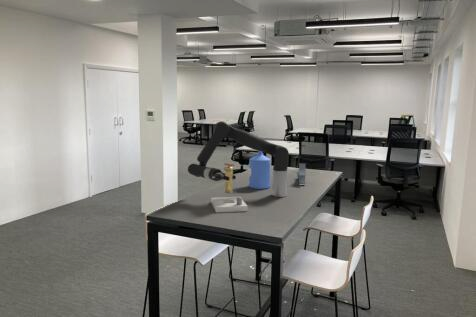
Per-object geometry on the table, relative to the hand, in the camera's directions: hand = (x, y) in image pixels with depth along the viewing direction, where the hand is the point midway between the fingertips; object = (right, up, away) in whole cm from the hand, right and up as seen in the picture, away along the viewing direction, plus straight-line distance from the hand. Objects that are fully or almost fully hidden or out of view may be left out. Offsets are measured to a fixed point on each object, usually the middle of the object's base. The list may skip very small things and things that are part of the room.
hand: (232, 178), depth 224 cm
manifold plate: (-2, -17, +4) cm, 18 cm away
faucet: (+53, -8, +79) cm, 96 cm away
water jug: (+19, -10, +60) cm, 63 cm away
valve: (-2, -9, +3) cm, 9 cm away
